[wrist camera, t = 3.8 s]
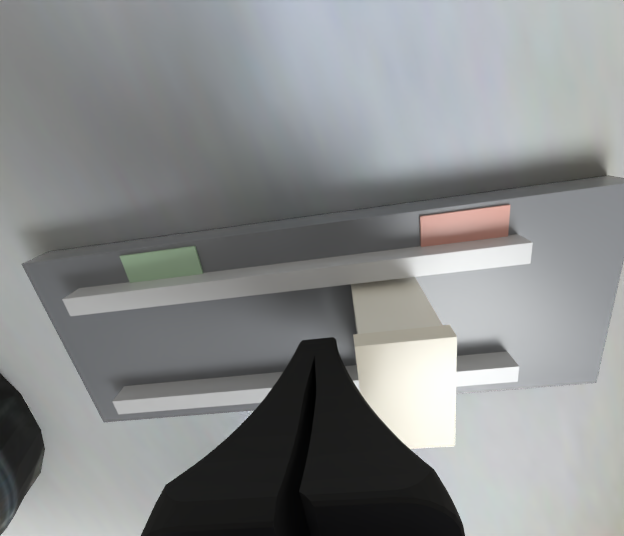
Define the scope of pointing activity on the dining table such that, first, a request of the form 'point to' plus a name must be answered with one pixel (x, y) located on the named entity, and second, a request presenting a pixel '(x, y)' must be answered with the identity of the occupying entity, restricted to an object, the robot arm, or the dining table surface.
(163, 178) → the dining table surface
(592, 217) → the grey slider track board
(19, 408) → the beer stein
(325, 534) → the robot arm
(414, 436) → the switch knob
